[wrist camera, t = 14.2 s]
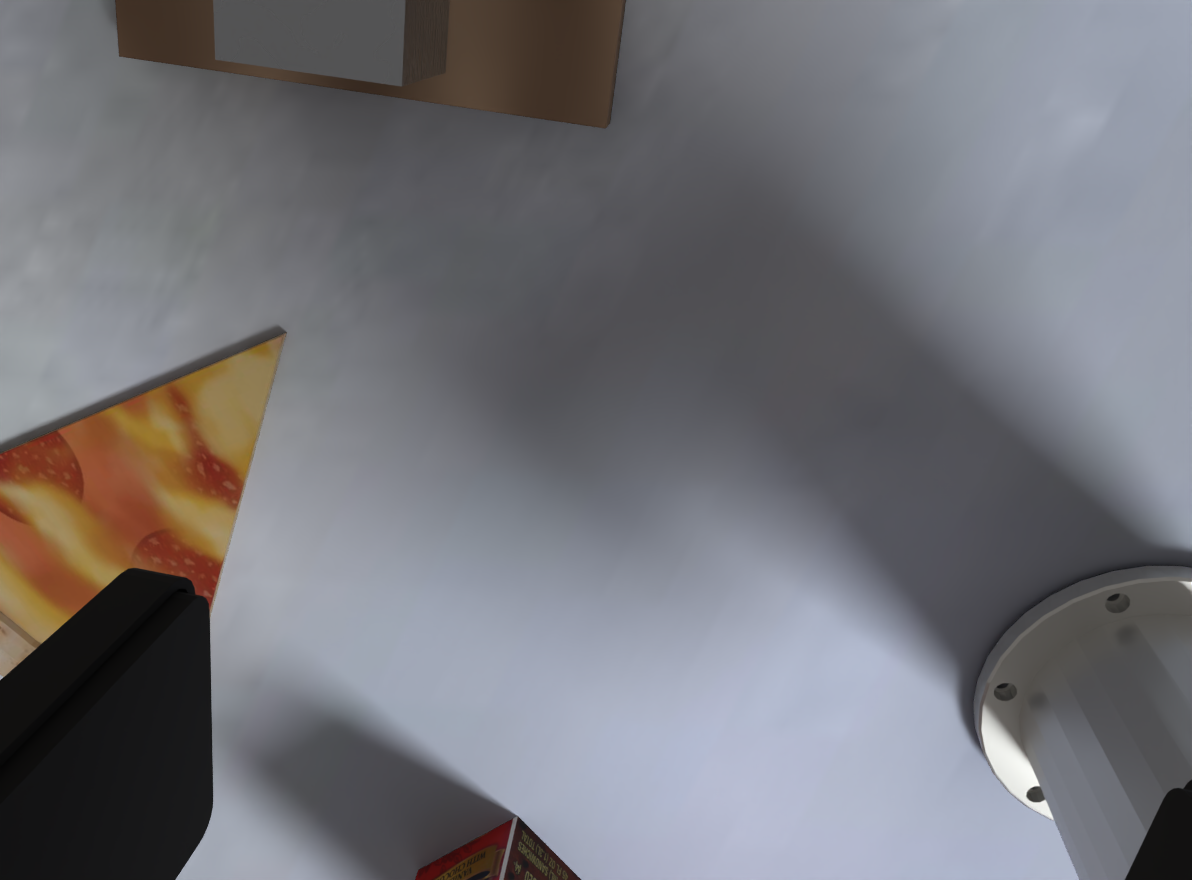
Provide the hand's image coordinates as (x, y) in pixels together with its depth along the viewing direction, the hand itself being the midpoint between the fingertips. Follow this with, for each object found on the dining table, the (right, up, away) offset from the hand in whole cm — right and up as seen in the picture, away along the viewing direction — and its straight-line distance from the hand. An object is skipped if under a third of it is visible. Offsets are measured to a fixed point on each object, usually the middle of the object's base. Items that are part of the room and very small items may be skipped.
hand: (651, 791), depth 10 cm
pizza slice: (-19, -3, +34) cm, 39 cm away
